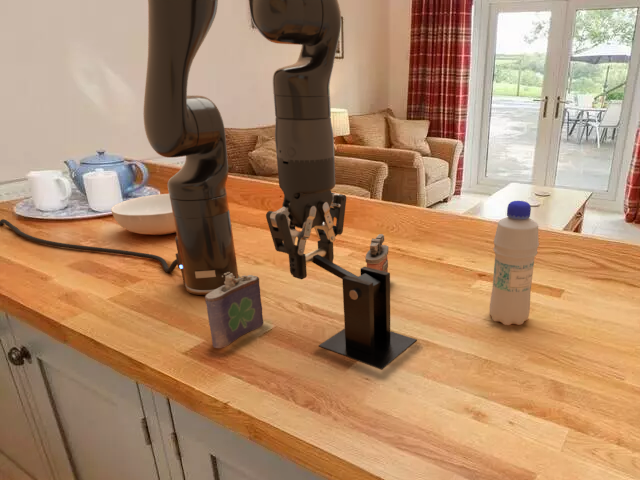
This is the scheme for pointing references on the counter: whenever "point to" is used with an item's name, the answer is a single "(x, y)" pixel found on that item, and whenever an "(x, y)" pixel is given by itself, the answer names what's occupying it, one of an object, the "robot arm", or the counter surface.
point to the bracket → (368, 323)
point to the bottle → (514, 264)
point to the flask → (234, 309)
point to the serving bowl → (146, 215)
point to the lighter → (377, 254)
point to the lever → (338, 268)
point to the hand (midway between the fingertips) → (312, 270)
